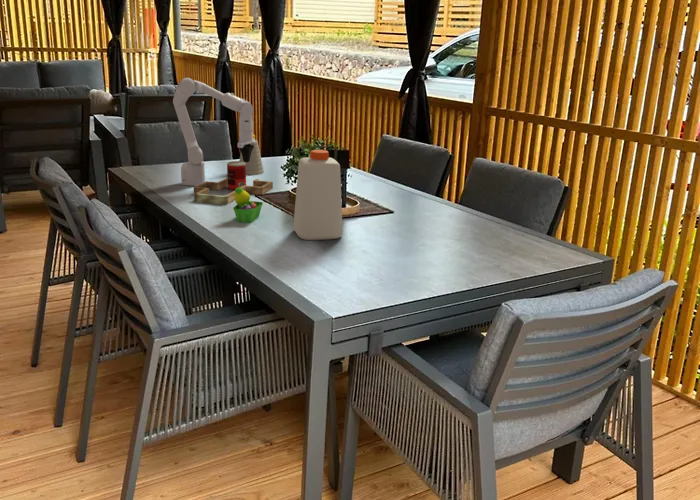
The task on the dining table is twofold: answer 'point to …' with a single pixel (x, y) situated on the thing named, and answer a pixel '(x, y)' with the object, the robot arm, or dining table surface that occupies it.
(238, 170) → the canned food
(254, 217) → the fruit basket
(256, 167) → the soap bottle
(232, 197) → the trap channel
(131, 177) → the dining table surface
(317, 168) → the plastic bottle
